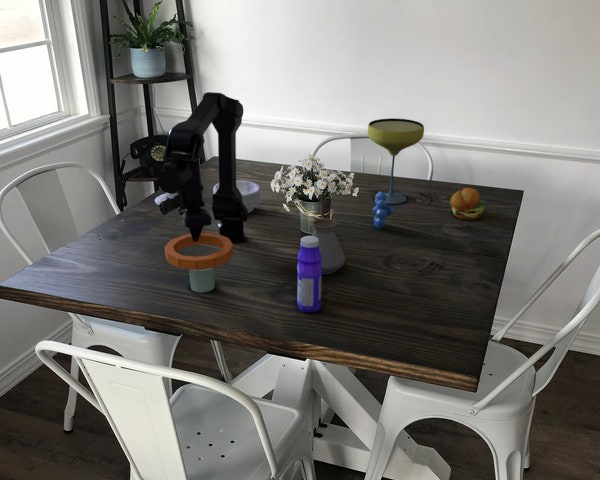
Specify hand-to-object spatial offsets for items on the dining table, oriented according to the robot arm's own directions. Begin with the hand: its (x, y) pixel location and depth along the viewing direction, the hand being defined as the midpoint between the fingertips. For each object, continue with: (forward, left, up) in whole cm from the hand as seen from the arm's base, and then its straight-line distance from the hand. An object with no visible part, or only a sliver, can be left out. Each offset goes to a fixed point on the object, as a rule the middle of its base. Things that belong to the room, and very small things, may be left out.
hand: (194, 239), depth 158 cm
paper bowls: (-21, -42, -10) cm, 48 cm away
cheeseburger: (-89, -14, -10) cm, 91 cm away
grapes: (-59, -13, -10) cm, 61 cm away
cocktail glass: (-73, -36, -10) cm, 82 cm away
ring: (0, +7, -1) cm, 7 cm away
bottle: (-22, +25, -10) cm, 35 cm away
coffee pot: (-34, +2, -10) cm, 36 cm away
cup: (0, +7, -10) cm, 12 cm away
